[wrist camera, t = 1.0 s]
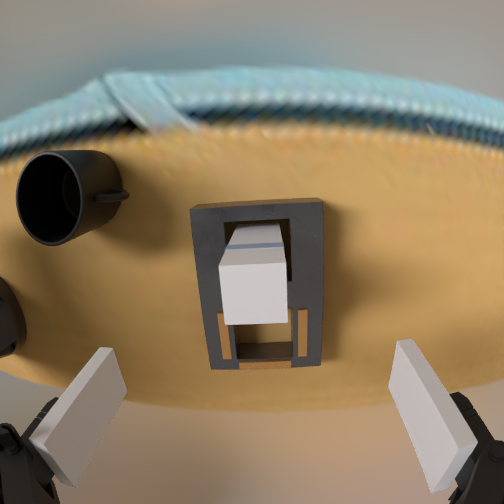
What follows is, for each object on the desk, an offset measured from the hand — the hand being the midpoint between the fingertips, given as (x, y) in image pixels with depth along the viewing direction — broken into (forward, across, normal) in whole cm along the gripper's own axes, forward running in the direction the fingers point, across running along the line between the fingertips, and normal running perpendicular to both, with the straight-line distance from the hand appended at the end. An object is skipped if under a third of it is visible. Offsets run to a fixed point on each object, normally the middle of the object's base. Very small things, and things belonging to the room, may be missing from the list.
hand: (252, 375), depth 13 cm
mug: (+23, -19, +8) cm, 31 cm away
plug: (+23, 0, 0) cm, 23 cm away
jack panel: (+23, 0, -5) cm, 23 cm away
